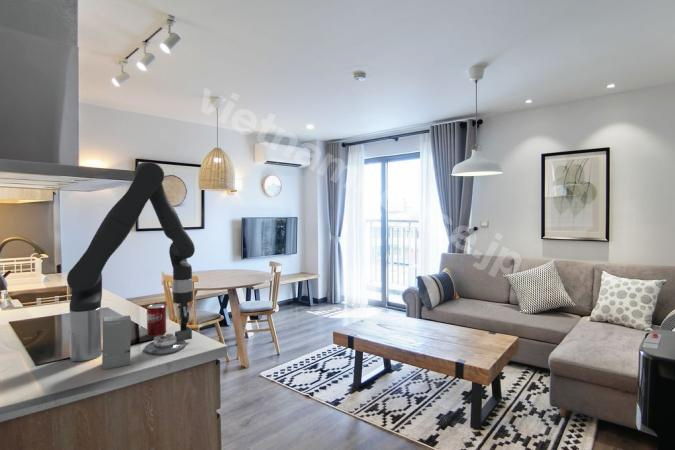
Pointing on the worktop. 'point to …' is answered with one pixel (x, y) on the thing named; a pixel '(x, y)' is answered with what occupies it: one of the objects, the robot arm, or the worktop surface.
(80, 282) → the robot arm
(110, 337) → the skincare box
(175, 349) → the cap plate
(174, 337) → the small handled pan
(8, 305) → the worktop surface
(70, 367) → the worktop surface
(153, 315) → the soda can
